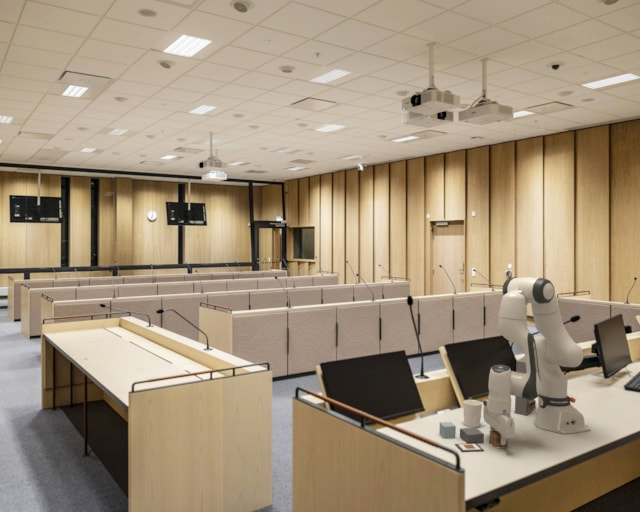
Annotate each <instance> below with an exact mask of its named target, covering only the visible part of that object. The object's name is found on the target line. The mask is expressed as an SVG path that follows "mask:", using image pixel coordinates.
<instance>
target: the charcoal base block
mask: <svg viewBox="0 0 640 512" xmlns="http://www.w3.org/2000/svg"><path fill="white" fill-rule="evenodd" d="M459 438H460V439H461V440H462V441H463V442H465V444H468V443H477V444H478V445H479V444H484V442H485V433H484V432H482V431H481V430H479V429H478V427H464V428H463V427H462V428H459Z"/></svg>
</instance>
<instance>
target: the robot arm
mask: <svg viewBox="0 0 640 512" xmlns="http://www.w3.org/2000/svg"><path fill="white" fill-rule="evenodd" d="M555 291H556V290H555V286H554V284H553V282H552V281H551V280H549V279H547V278H543V277H535V276H534V277H532V276H525V277H524V276H523V277H522V276H521V277H516V276H515V277H510V278H507V279H506V280H505V282H504V283H503V285H502V298H501V301H500V305H499V309H498V310H499V311H498V319H497V321H498V322H497V328H498V332H499V333H500V335H501V336H503V338H504V339H506V340H507V341H509V342H511V343H512V344H514V345H516V346H518V347H519V348H520V349H521V350H522V352H523V353H524V356H525V362H526V371H527V373H520V372H516V371H514V370H511V367H510V366H509V365H505V364H494V365H493V366H491V367H490V370H489V375H488V395H487V399H483V400H482V406H483V407H482V408H483V410H482V412H483V416H482V417H483V420H484V421H483V422H486V424H488V425H489V429H490V431H498V432H499V433H500V434H501V436H502V437H501V439H500V444H501V445H505V444H506V439H507V438H508V439H514V438H515V437H516V425H515V420H514V418H513V417H512V397H511V396H514V397H515V396H518V397H522V398H525V399H528V400H533V399H534V400H536V399H538V401H537V402H538V409H537V415H536V418H535V421H534V425H535V426H536V427H538V428H540V429H542V430H545V431H548V432H549V431H550V432H555V433H558V434H562V435H568V434H575V433H576V432H577V433H583V432H590V431H591V427H590V426H589V424H587V423H585V417H584V415H583V413H581V412H580V411H579V409H577V408H576V407H574V406H573V405H572V404H575V403H576V401H577V399H576V398H574V397H570V396H569V395H568V378H567V375H565V373H564V372H563V371H562V369H561V367H564V368H577V367H579V366H580V365H581V364H582V362H583V360H584V351H583V348H582V347H581V346H579V344H577V343H576V342H575V341H574V339H573V338H572V337H571V336H570V333H568V331H567V329H566V327H565V324H564V321H563V319H562V314H561V309H560V305H559V302H558V299H557V295H556V294H555ZM529 304H530V307H531V311H532V317H533V321H534V326H535V329H536V331H537V332H538V333H540V336H539V335H537V336H534V335H533V334H532V333H531V332H530V330H529V328H528V324H527V322H528V321H527V320H528V319H527V318H528V309H527V308H528V307H527V306H528V305H529ZM508 439H507V440H508Z"/></svg>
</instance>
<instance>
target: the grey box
mask: <svg viewBox="0 0 640 512" xmlns="http://www.w3.org/2000/svg"><path fill="white" fill-rule="evenodd" d="M515 365H516V366H515V367H516V368H515V372H520V373H527V371H526V362H525V355H524V356H523V357H521V358H519V359H518V360H516V364H515ZM514 397H515V399H514V402H515V403H514V413H515V414H520V415H525V416H529V414H530V413H532V412H533V411H534V410H535V409H536V403H537V401H536V399H533V400H528V399H525V398H522V397H518V396H514Z"/></svg>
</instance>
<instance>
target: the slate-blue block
mask: <svg viewBox="0 0 640 512" xmlns="http://www.w3.org/2000/svg"><path fill="white" fill-rule="evenodd" d="M456 427H457V425H455V424H454V423H453V422H451V421H446V422H445V421H442V422H439V435H440V437H442V439H456V435H457V434H456V432H457V431H456V429H457V428H456Z"/></svg>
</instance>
